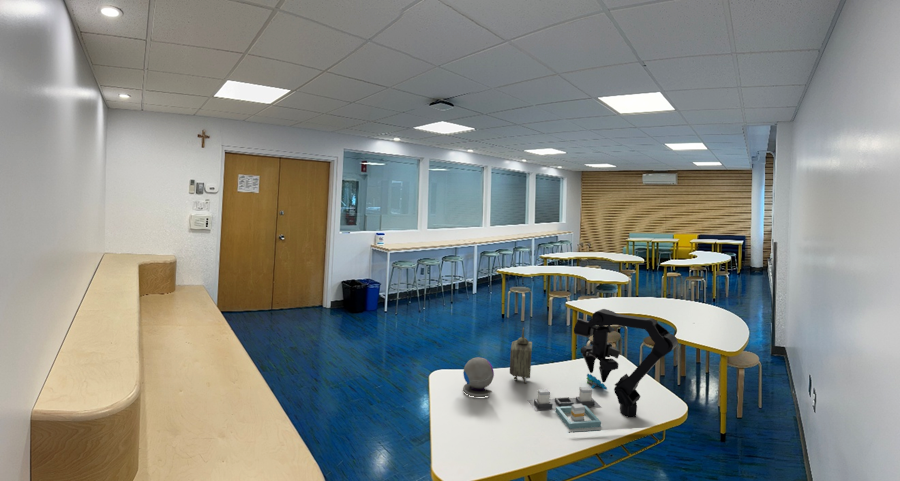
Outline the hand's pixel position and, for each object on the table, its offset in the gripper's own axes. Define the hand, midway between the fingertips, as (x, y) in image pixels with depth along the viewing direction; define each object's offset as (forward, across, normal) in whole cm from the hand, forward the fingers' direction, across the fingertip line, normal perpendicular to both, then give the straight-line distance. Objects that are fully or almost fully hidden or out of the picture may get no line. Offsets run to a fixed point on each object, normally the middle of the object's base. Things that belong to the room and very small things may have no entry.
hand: (597, 377), depth 180 cm
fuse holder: (+12, +1, +14) cm, 18 cm away
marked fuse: (+11, -11, +15) cm, 22 cm away
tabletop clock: (+12, +27, +22) cm, 37 cm away
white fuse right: (+10, 0, +5) cm, 12 cm away
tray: (+12, -11, +15) cm, 22 cm away
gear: (+12, +13, -8) cm, 20 cm away
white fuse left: (+10, +1, +23) cm, 25 cm away
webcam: (+12, +20, +45) cm, 50 cm away
